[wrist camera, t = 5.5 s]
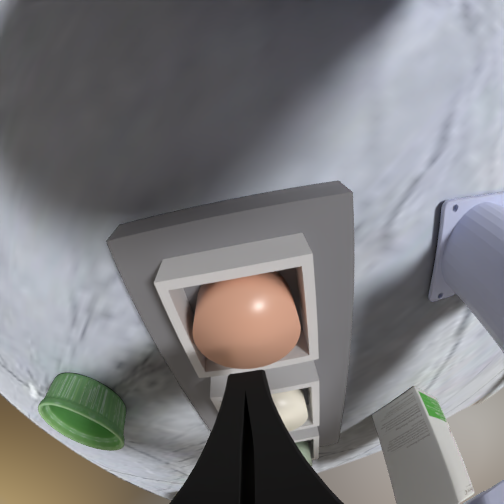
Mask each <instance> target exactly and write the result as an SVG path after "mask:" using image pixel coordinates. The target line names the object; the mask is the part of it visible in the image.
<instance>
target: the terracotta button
mask: <svg viewBox="0 0 504 504" xmlns="http://www.w3.org/2000/svg"><path fill="white" fill-rule="evenodd" d="M300 332H301V326H300V321H299V317H298V314H297V310H296V307H295V303H294V300H293V296H292V293H291V289H290V287H289V285H288V283H287V282H286V280H285V279H284V278H283V277H282V276H281V275H280V274H279V273H278V272H276V271H274V272H268V273H263V274H258V275H252V276H247V277H241V278H236V279H230V280H225V281H219V282H213V283H208V284H202V285H201V287H200V289H199V292H198V296H197V302H196V309H195V316H194V323H193V339H194V342H195V344H196V346H197V348H198V349H199V351H200V352H201V353H202V354H203V355H204V356H205V357H207V358H208V359H210V360H211V361H213V362H215V363H217V364H219V365H222V366H225V367H230V368H236V369H253V368H259V367H264V366H267V365H270V364H272V363H275V362H277V361H279V360H280V359H282V358H283V357H285V356H286V355H287V354H288V353H289V352H290V351H291V350H292V349H293V348H294V347H295V345H296V344H297V342H298V339H299V337H300Z"/></svg>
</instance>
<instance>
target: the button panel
mask: <svg viewBox="0 0 504 504" xmlns="http://www.w3.org/2000/svg"><path fill="white" fill-rule="evenodd" d="M106 242H107V244H108V247H109V249H110V252H111V254H112V256H113V259H114V261H115V263H116V266H117V268H118V270H119V272H120V274H121V277H122V279H123V281H124V283H125V285H126V287H127V290H128V292H129V294H130V296H131V298H132V300H133V302H134V304H135V306H136V308H137V310H138V312H139V314H140V316H141V318H142V320H143V322H144V324H145V326H146V327H147V329H148V331H149V333H150V335H151V337H152V338H153V340H154V342H155V344H156V346H157V347H158V349H159V351H160V353H161V354H162V356H163V358H164V360H165V361H166V363H167V365H168V366H169V368H170V370H171V371H172V373H173V375H174V376H175V378H176V380H177V381H178V383H179V384H180V386H181V388H182V389H183V391H184V392H185V394H186V395H187V397H188V398H189V400H190V401H191V403H192V404H193V406H194V407H195V409H196V410H197V412H198V413H199V415H200V416H201V418H202V419H203V421H204V422H205V423H206V425H207V426H208V428H209V429H210V430H211V431H212V429H213V426H214V424H215V421H216V418H217V415H218V412H219V409H220V406H221V403H222V399H223V396H224V392H225V388H226V383H227V378H228V376H229V375H230V374H234V373H242V372H248V371H255V370H261V369H262V370H264V371H265V373H266V377H267V380H268V384H269V388H270V392H271V394H276V393H281V392H287V391H292V390H298V389H303V394H304V398H305V403H306V407H307V412H308V418H307V420H306V422H305V423H304V424H303V425H302V426H300V427H299V428H297V429H295V430H293V431H290V432H289V434H290V435H291V437H292V439H293V440H294V442H295V443H296V442H301V441H307V442H308V445H309V450H310V455H311V460H314V459H319V447H322V446H326V445H331V444H335V443H338V440H339V435H340V429H341V423H342V416H343V409H344V402H345V395H346V387H347V378H348V369H349V359H350V347H351V334H352V319H353V297H354V212H353V192H352V191H351V190H349V189H348V188H347V187H346V186H345V185H343V184H342V183H341V182H340V181H333V182H326V183H319V184H313V185H307V186H301V187H295V188H289V189H283V190H277V191H272V192H266V193H261V194H255V195H250V196H245V197H240V198H235V199H230V200H225V201H220V202H215V203H210V204H206V205H201V206H196V207H192V208H187V209H183V210H178V211H174V212H170V213H165V214H161V215H157V216H153V217H149V218H145V219H141V220H137V221H133V222H129V223H125V224H121V225H119V226H118V227H117V228H116V230H115V231H114V232H113V233H112V235H111V236H110V237H109V238H108V240H107V241H106ZM274 271H276V272H278V273H279V274H280V275H281V276H282V277H283V278H284V279H285V280H286V282H287V283H288V285H289V287H290V289H291V293H292V296H293V300H294V303H295V307H296V310H297V314H298V317H299V321H300V326H301V332H300V337H299V339H298V342H297V344H296V345H295V347H294V348H293V349H292V350H291V351H290V352H289V353H288V354H287V355H286V356H285V357H283V358H282V359H280V360H279V361H277V362H275V363H272V364H270V365H267V366H264V367H259V368H253V369H236V368H230V367H225V366H222V365H219V364H217V363H215V362H213V361H211V360H210V359H208V358H207V357H205V356H204V355H203V354H202V353H201V352H200V351H199V349H198V348H197V346H196V344H195V342H194V339H193V323H194V316H195V309H196V302H197V296H198V292H199V289H200V287H201V285H202V284H208V283H213V282H219V281H225V280H230V279H236V278H241V277H247V276H252V275H258V274H263V273H268V272H274Z"/></svg>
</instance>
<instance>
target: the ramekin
mask: <svg viewBox="0 0 504 504" xmlns="http://www.w3.org/2000/svg"><path fill="white" fill-rule="evenodd" d="M38 411H39V413H40V415H41V417H42V418H43V419H44V420H45V421H46V422H47V423H48V424H49V425H50V426H51V427H52V428H54V429H55V430H56V431H58V432H59V433H61V434H63V435H64V436H66V437H68V438H70V439H72V440H74V441H76V442H78V443H81V444H83V445H86V446H89V447H93V448H97V449H101V450H110V451H111V450H119V449H121V448H123V446H124V436H123V432H124V423H125V415H126V407H125V405H124V403H123V401H122V400H121V398H120V397H119V396H118V395H117V394H116V393H115V392H113V391H112V390H111V389H109V388H108V387H106V386H105V385H103V384H101V383H100V382H98V381H96V380H93V379H91V378H89V377H86V376H83V375H79V374H75V373H63V374H60V375H58V376H57V377H56V378H55V379H54V381H53V383H52V384H51V386H50V388H49V390H48V392H47V394H46V396H45V398H44V399H43V400H42V401H41V402H40V404H39V406H38Z"/></svg>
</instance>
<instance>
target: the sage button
mask: <svg viewBox="0 0 504 504" xmlns="http://www.w3.org/2000/svg"><path fill="white" fill-rule="evenodd" d="M295 444H296V445H297V447H298V448H299V450H300V451H301V453H302V454H303V456H304V457H305V459H306V460H307V461H308V463H309V464H310V465H311V466H312V460H311V455H310V450H309V445H308V442H307V441H301V442H296V443H295Z"/></svg>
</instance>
